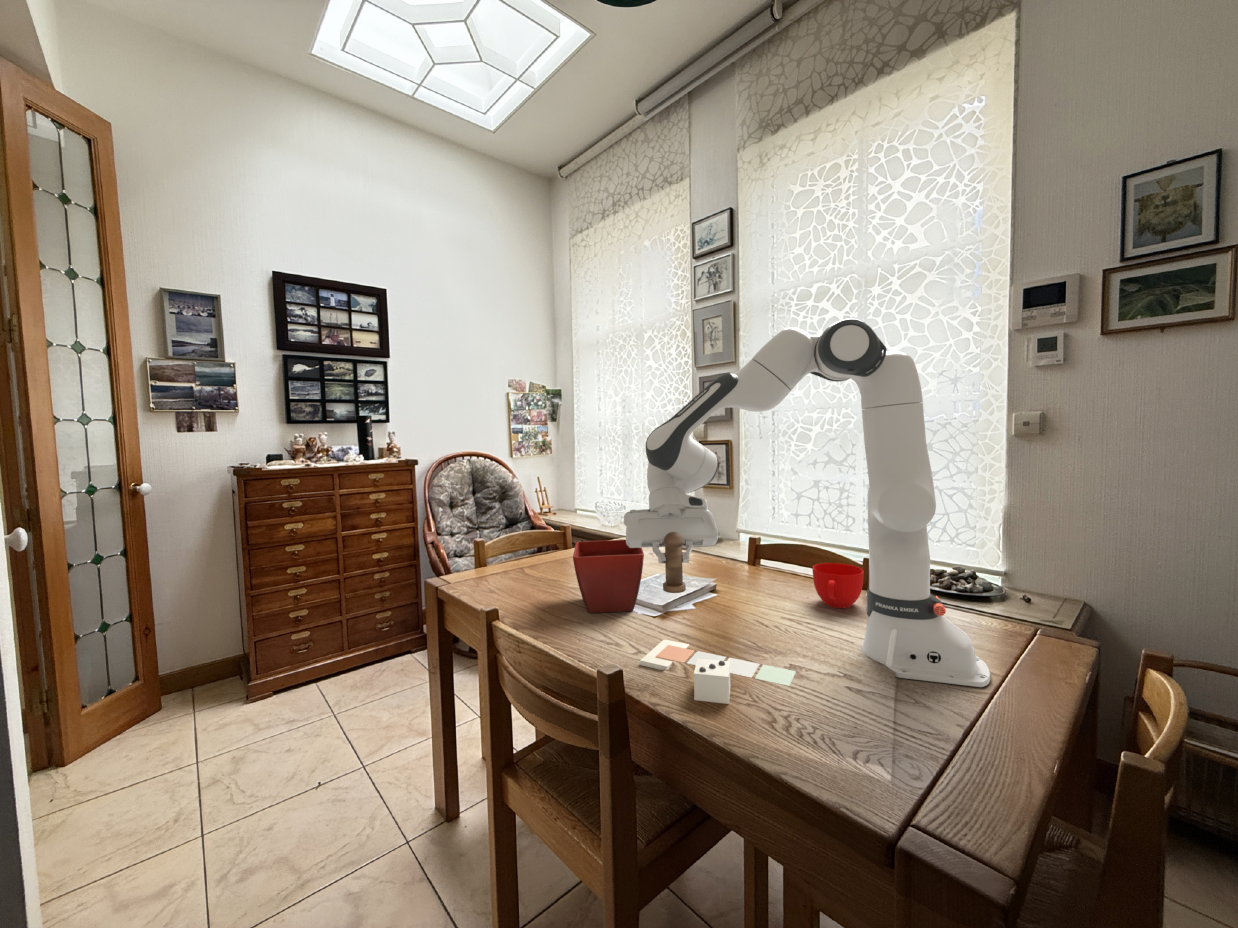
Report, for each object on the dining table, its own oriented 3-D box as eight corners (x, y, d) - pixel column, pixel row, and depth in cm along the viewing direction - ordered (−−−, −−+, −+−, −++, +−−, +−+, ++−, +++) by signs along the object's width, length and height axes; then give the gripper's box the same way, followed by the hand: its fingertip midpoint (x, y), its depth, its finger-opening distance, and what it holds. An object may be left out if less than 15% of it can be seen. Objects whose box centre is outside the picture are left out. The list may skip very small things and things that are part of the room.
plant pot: (574, 618, 131) (572, 556, 130) (577, 595, 150) (576, 541, 149) (645, 615, 132) (644, 553, 131) (640, 593, 151) (639, 538, 150)
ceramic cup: (804, 611, 132) (804, 575, 131) (818, 594, 146) (818, 560, 145) (857, 620, 124) (857, 581, 124) (866, 601, 138) (866, 566, 138)
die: (730, 692, 91) (730, 658, 91) (729, 710, 86) (728, 673, 85) (697, 689, 93) (697, 655, 93) (694, 706, 87) (693, 669, 87)
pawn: (690, 589, 105) (689, 531, 104) (676, 594, 102) (675, 535, 101) (672, 584, 108) (671, 529, 108) (658, 589, 105) (657, 532, 104)
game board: (810, 673, 98) (810, 667, 98) (799, 702, 87) (799, 695, 87) (664, 643, 114) (664, 638, 114) (640, 664, 103) (640, 659, 103)
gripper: (623, 502, 111) (624, 555, 102) (713, 499, 111) (723, 552, 102) (623, 518, 116) (625, 570, 106) (710, 516, 116) (719, 568, 106)
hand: (674, 561), depth 104 cm, fingers closed on pawn, 4 cm apart
